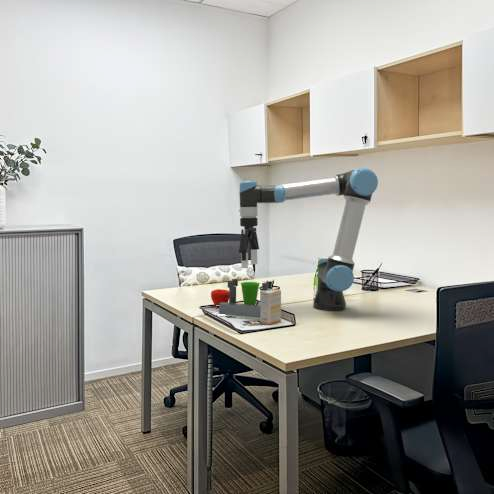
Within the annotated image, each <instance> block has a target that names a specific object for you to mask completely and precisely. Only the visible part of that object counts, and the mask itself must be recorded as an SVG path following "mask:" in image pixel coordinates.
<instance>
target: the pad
mask: <svg viewBox="0 0 494 494" xmlns="http://www.w3.org/2000/svg"><path fill="white" fill-rule="evenodd" d="M227 316H234V317H240V318H239V319H243V318H248V319H247V320H254V319H257V321H260V320H261V319H260V318H257V317H246V316H235V315H227Z"/></svg>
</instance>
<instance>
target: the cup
mask: <svg viewBox="0 0 494 494" xmlns="http://www.w3.org/2000/svg"><path fill="white" fill-rule="evenodd" d="M260 284H261V283H260V282H258V281H256V282H255V281H243V282H240V286H241V292H242V300H243V304H250V305H255V304H256V305H257V301H258V294H259V288H260Z"/></svg>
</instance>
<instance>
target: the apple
mask: <svg viewBox="0 0 494 494" xmlns="http://www.w3.org/2000/svg"><path fill="white" fill-rule="evenodd" d="M210 297H211V300H212V302H213V305H214V306H215V305H219V303H221V302H226V303H229V289H223V288H222V289H221V288H220V289H219V288H217V289H214V290H211V291H210Z"/></svg>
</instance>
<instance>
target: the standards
mask: <svg viewBox="0 0 494 494" xmlns="http://www.w3.org/2000/svg"><path fill="white" fill-rule="evenodd" d="M272 282H273V281H270V280H266V281H265V282H262V283H261V291H266V290H270V289H273V288H272V287H273V283H272ZM238 286H239V279H238V278H232V279H231V280H227V288H228V291H229V301H228V303H237V287H238Z"/></svg>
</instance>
